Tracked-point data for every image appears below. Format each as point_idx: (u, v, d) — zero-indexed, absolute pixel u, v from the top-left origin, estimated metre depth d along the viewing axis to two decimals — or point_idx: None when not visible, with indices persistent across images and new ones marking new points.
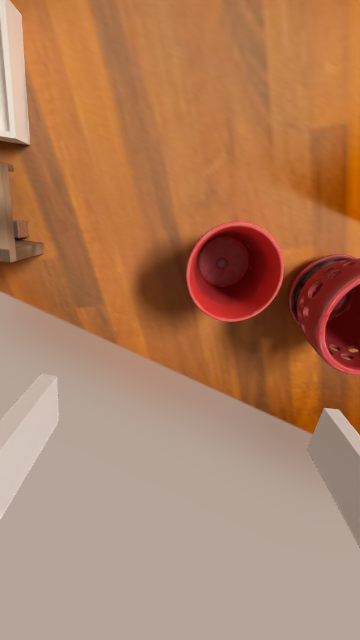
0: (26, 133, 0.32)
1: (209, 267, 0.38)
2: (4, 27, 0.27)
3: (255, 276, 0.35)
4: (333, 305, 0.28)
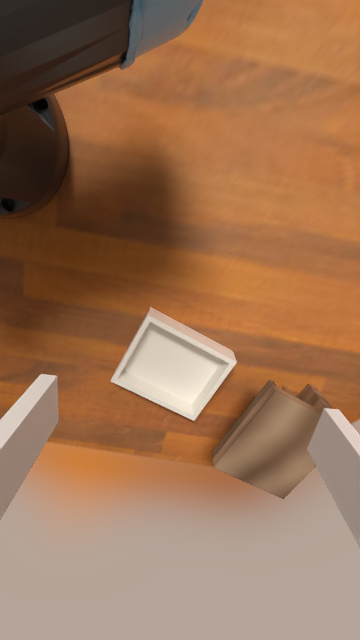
0: (226, 349, 0.34)
1: None
2: (166, 327, 0.31)
3: None
4: None
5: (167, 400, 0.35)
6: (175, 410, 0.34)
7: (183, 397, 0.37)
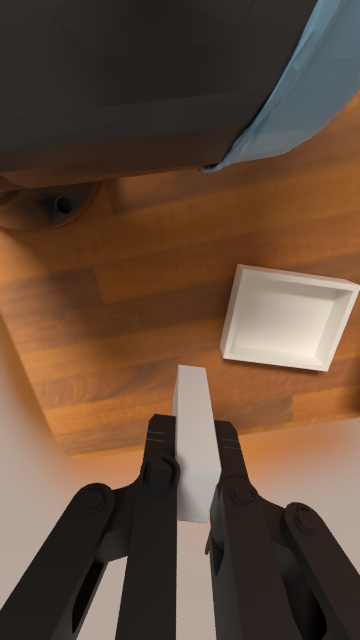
0: (337, 279, 0.29)
1: None
2: (267, 275, 0.26)
3: None
4: None
5: (289, 358, 0.31)
6: (303, 366, 0.30)
7: (302, 351, 0.32)
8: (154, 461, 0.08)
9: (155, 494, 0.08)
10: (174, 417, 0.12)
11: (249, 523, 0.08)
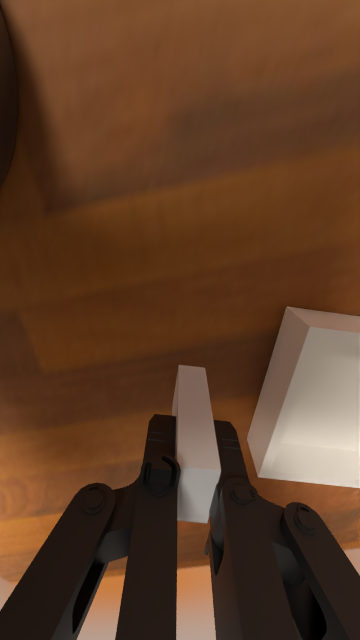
0: None
1: None
2: (359, 338, 0.13)
3: None
4: None
5: None
6: None
7: None
8: (154, 461, 0.08)
9: (155, 494, 0.08)
10: (174, 417, 0.12)
11: (249, 523, 0.08)
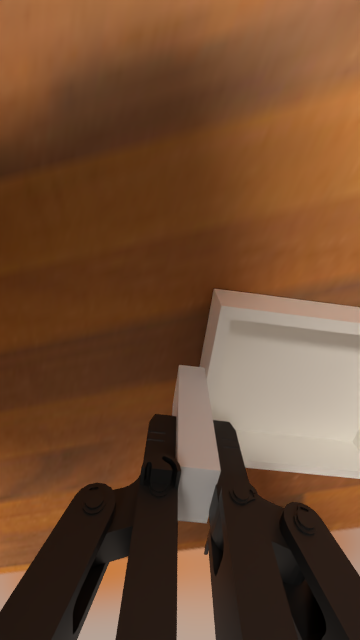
0: None
1: None
2: (273, 317, 0.13)
3: None
4: None
5: (311, 456, 0.17)
6: (337, 473, 0.16)
7: (333, 435, 0.18)
8: (155, 461, 0.08)
9: (156, 494, 0.08)
10: (174, 417, 0.12)
11: (248, 523, 0.08)
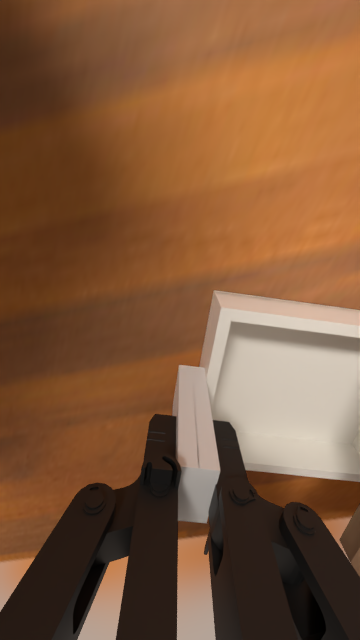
0: None
1: None
2: (273, 319, 0.13)
3: None
4: None
5: (310, 459, 0.17)
6: (336, 476, 0.16)
7: (332, 437, 0.18)
8: (155, 461, 0.08)
9: (156, 494, 0.08)
10: (174, 417, 0.12)
11: (248, 523, 0.08)
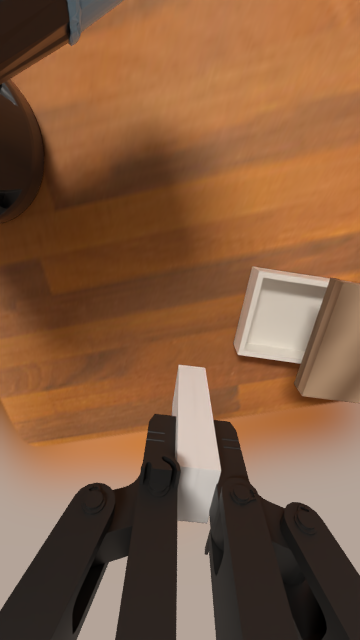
0: None
1: None
2: (281, 277, 0.28)
3: None
4: None
5: (299, 356, 0.33)
6: None
7: None
8: (154, 461, 0.08)
9: (155, 494, 0.08)
10: (174, 417, 0.12)
11: (249, 523, 0.08)
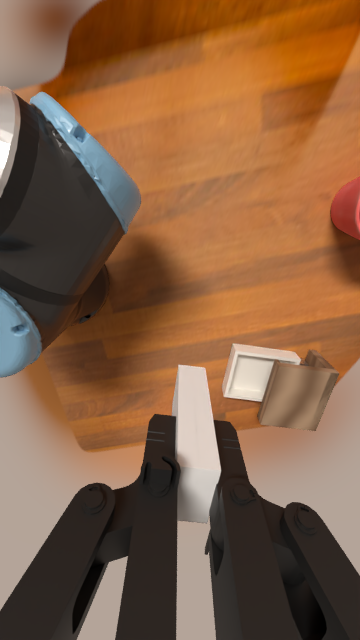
0: (290, 352, 0.50)
1: None
2: (249, 353, 0.48)
3: None
4: None
5: (262, 396, 0.52)
6: None
7: None
8: (154, 461, 0.08)
9: (155, 494, 0.08)
10: (174, 417, 0.12)
11: (249, 523, 0.08)
